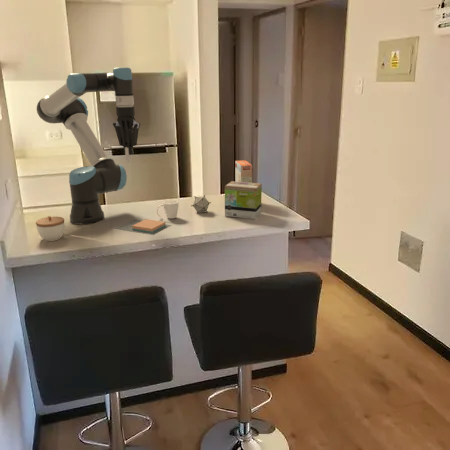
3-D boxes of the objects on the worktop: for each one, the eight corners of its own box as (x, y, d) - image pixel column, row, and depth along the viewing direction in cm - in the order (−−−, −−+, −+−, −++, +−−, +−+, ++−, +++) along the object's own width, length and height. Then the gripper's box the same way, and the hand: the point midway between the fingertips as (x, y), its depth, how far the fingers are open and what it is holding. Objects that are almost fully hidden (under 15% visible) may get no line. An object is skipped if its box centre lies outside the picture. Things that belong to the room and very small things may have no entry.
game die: (204, 220, 224) (208, 207, 216) (187, 214, 224) (190, 200, 216) (210, 207, 229) (214, 194, 221) (194, 201, 230) (197, 187, 222)
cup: (180, 221, 211) (179, 203, 209) (157, 222, 210) (156, 205, 207) (178, 216, 218) (177, 199, 216) (156, 218, 216) (155, 201, 214)
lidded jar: (32, 240, 190) (29, 217, 187) (55, 232, 199) (52, 211, 196) (49, 245, 184) (46, 222, 181) (71, 237, 193) (69, 215, 190)
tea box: (224, 217, 217) (223, 185, 212) (231, 211, 226) (230, 180, 221) (256, 219, 212) (256, 187, 207) (261, 213, 221) (262, 182, 216)
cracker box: (252, 207, 231) (252, 164, 225) (240, 207, 230) (240, 165, 224) (246, 199, 245) (246, 159, 238) (235, 200, 244) (234, 160, 237)
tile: (132, 225, 198) (151, 228, 194) (146, 219, 207) (165, 222, 202) (132, 229, 199) (152, 232, 194) (146, 223, 207) (165, 226, 203)
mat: (114, 229, 201) (114, 228, 201) (134, 220, 213) (134, 219, 212) (153, 236, 192) (153, 235, 192) (171, 226, 204) (171, 225, 204)
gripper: (106, 106, 198) (111, 162, 205) (132, 107, 192) (136, 164, 200) (118, 105, 204) (122, 159, 212) (143, 105, 199) (146, 161, 206)
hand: (129, 162), depth 206 cm, fingers closed
